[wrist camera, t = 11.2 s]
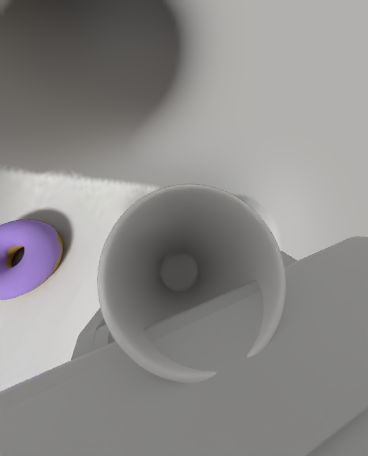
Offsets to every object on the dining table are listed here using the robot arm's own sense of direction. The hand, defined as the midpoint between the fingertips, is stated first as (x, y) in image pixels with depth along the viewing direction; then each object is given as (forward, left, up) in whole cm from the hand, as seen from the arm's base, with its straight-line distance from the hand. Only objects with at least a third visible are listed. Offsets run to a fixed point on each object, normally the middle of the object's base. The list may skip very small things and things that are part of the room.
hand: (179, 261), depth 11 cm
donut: (-19, -7, -11) cm, 23 cm away
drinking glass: (+1, 0, -9) cm, 9 cm away
